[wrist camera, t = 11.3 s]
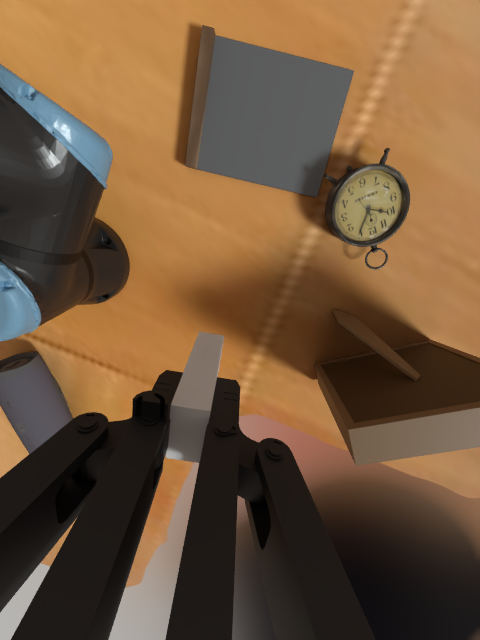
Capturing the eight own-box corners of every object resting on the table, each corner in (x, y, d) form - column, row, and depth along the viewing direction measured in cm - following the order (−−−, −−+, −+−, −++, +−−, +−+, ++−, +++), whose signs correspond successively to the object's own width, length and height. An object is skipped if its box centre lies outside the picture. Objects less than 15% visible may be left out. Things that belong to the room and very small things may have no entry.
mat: (191, 168, 43) (190, 167, 43) (208, 35, 37) (208, 33, 37) (316, 197, 44) (316, 197, 44) (353, 72, 38) (353, 70, 38)
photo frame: (431, 359, 53) (568, 472, 30) (317, 381, 56) (361, 500, 33) (428, 285, 48) (589, 353, 25) (304, 314, 51) (344, 399, 28)
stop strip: (187, 167, 43) (185, 165, 41) (204, 34, 37) (202, 25, 35) (197, 169, 43) (194, 167, 41) (215, 37, 37) (213, 28, 35)
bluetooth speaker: (13, 351, 57) (-34, 378, 48) (55, 345, 56) (15, 372, 47) (57, 436, 65) (24, 474, 56) (94, 432, 64) (67, 470, 55)
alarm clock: (402, 140, 37) (423, 258, 41) (384, 150, 42) (404, 254, 46) (320, 174, 38) (348, 283, 43) (312, 180, 43) (339, 277, 48)
